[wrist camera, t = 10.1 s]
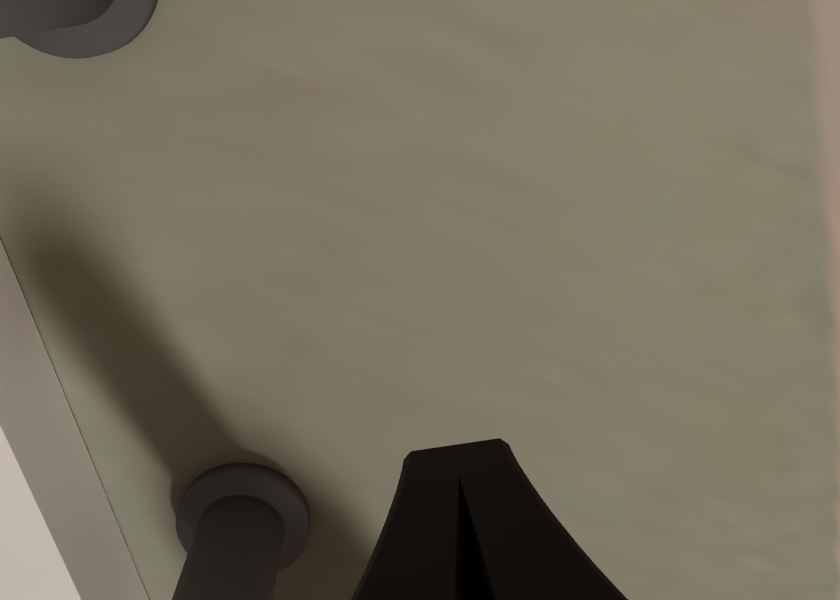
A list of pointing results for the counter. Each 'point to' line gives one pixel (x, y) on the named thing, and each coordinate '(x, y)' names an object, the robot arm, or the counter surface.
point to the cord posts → (223, 486)
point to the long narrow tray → (49, 479)
